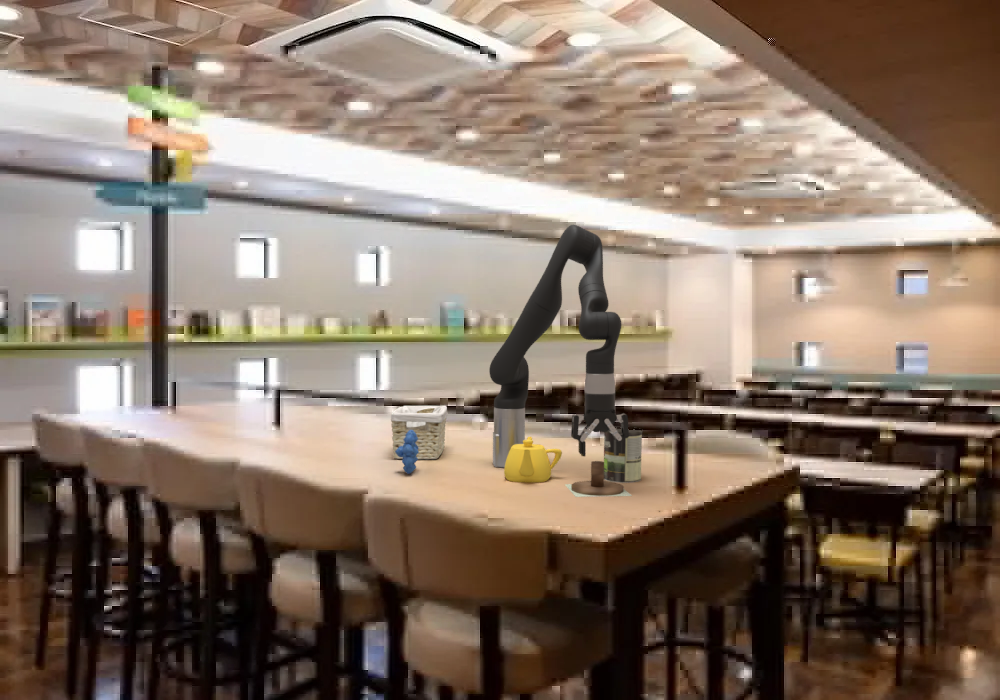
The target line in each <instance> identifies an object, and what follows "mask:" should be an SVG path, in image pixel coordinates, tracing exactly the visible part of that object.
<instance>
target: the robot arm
mask: <svg viewBox="0 0 1000 700" xmlns="http://www.w3.org/2000/svg"><path fill="white" fill-rule="evenodd" d="M603 255H604V251H603V242H602V239H601V238H600V236H598V235H597V234H595V233H594V232H591V231H589V230H587V229H585V228H583V227H581V226H579V225H576V224H571V225H569V226H567V228H566V229H564V231H563V232H562V233H561V236H560V238H559V240H558V241H557V243H556V246H555V248H554V249H553V253H552V255H551V257H550V260H549V262H548V264H547V266H546V267H545V270H544V272H543V273H542V275H541V278H540V279H539V281H538V283H537V284H536V286H535V288H534V289H533V292H532V293H531V295H530V296H529V298H528V300H527V302H526V304H525V305H524V308H523V309H522V311H521V313H520V315H519V317H518V319H517V320H516V322H515V324H514V326H513V327H512V330H511V331H510V333H509V335H508V336H507V338H506V339H505V341H504V343H503V344H502V345H501V346H500V348H499V350H498V351H497V352H496V354H495V355H494V357H493V358H492V360H491V362H490V365H489V377H490V379H491V381H492V382H493V383H495V384H496V385H498V386H500V391H499V393H498V394H497V395H496V397H494V401H493V432H492V464H493V467H494V468H496V467H497V468H505V462H506V459H507V456H508V454H509V451H510V449H511V447H512V446H513V445H515V444H523V440H526V437H525V435H526V433H525V432H526V402H527V399H528V395H529V378H530V371H529V363H528V361H527V359H526V357H525V355H526V354H527V352H528V350H529V349H530V348H531V347H532V345H534V344H535V343H536V342H537V341H538V340H539V339H540V337H542V336H543V335H544V334H545V333H546V332H547V330H549V328H550V327H551V325H552V324H553V323H554V320H555V319H556V317H557V315H558V314H559V312H560V310H561V308H562V304H563V290H562V277H563V273H564V269H565V267H566V265H567V263H568V261H569V260H571V261H573V262H575V263H577V264H580V265H582V266H583V267H584V268H585V271H586V272H585V274H584V275H583V276H582V277H581V279H580V281H579V283H578V287H577V288H578V289H577V290H578V297H579V301H580V307H581V309H580V317H579V322H578V333H579V335H580V336H581V337H582V338H583V339H585V340H586V341H587V340H588V341H594V340H595V341H601V340H602V341H605V342H604V344H603V345H602V346H601V347H599V348H594V349H590V350H588V351H587V352H586V354H585V379H584V414H583V415H581V414H579V415H578V414H572V416H571V431H570V436H571V438H573V439H574V440H577V441H578V453H579V455H580V456H581V457H586V456H587V455H586V453H587V452H586V446H587V445H586V441H585V440H586V439H587V438H588V437H589V436H590V435H591V434H592V432H593V433H599V432H603V433H604V432H607V431H609V432H610V433H611V434H612V435H613V436H614V438H615V440H614V455H615V456H619V453H621V441H622V440H623V439H625V438H628V437H629V430H628V427H629V418H628V414H626V413H621V414H616V380H615V379H616V378H615V354H616V348H617V344H618V342H619V341H618V340H619V337H620V334H621V330H622V319H621V317H620V315H619V314H618V313H617V312H615V311H608V308H609V304H610V303H609V298H608V296H607V295H608V294H607V290H606V287H605V281H604V257H603ZM617 420H618V423H620V427H621V434H619V433H618V432H617V430H616V429H615V427H616V426H614V424H615V423H616V422H617ZM583 421H584V423H585V424H586V425H585V426H584V428H583V429H582V431H581V433H580V434H579V425H580V424H581V423H582V422H583Z"/></svg>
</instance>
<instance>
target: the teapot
mask: <svg viewBox="0 0 1000 700" xmlns="http://www.w3.org/2000/svg"><path fill="white" fill-rule="evenodd" d="M550 453H551V454H552V453H553V454H554V458H553V460H552V462H550V458H549V455H548V454H550ZM562 454H563V451H562V450H561V449H559V448H547V449H546V448H545V446H544V445H542V444H537V443H534V440H533V437H532V436H528V437H527V439H525V440H523V444H515V445H513V446H512V447H511V449H510V451H509V454H508V456H507V459H506V462H505V467H503V468H504V470H503V471H504V472H503V474H504V476H505V479H506V481H509V482H514V483H534V484H535V483H544V482H545V483H546V482H547V481H549V480H550V477H552V476H551V475H552V469H553V468H554V467H555V466H556V465H557V464H558V462H560V460H561V457H562Z"/></svg>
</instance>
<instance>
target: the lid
mask: <svg viewBox="0 0 1000 700" xmlns="http://www.w3.org/2000/svg"><path fill="white" fill-rule="evenodd" d="M590 463H591V464H590V465H591V466H590V480H581V481H576V482H573V483H571V484H572V485H571V490H572V491H574V492H576V493H580V494H585V495H594V496H602V497H609V496H608V495H617V494H620V493H622V492H623V489H625V487H624V485H622V484H621V483H619V482H611V481H607V480H605V479H604V461H600V460H595V461H591V462H590Z"/></svg>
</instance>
